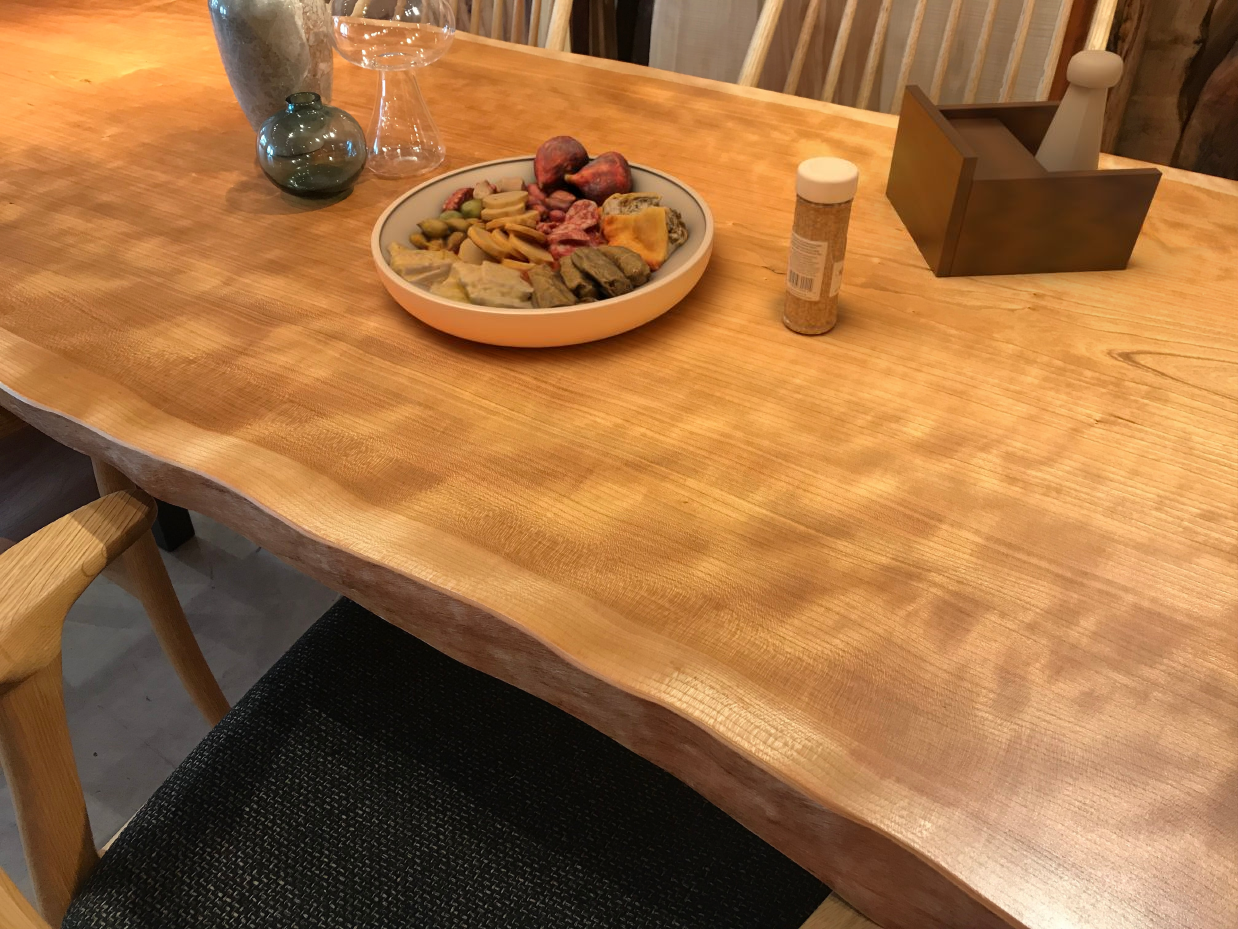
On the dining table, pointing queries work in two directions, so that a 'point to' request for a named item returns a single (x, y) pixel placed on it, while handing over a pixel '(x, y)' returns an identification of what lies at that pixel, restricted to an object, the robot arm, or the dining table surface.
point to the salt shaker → (1080, 113)
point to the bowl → (544, 247)
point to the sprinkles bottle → (818, 243)
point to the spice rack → (1007, 193)
